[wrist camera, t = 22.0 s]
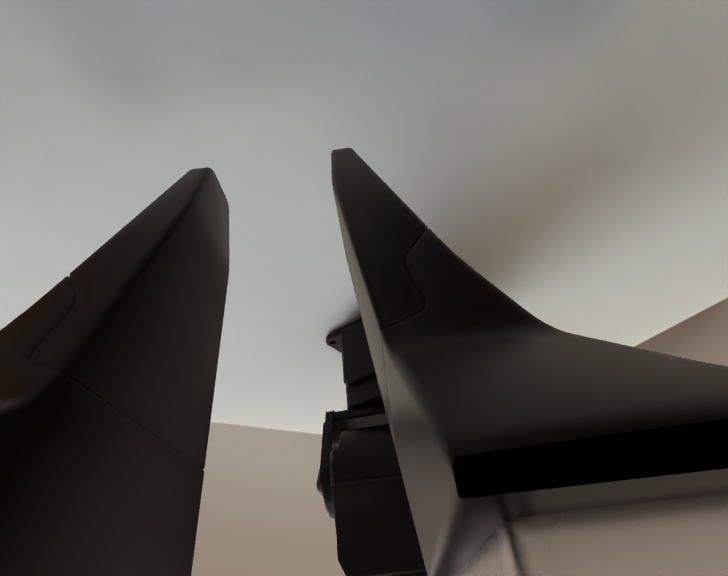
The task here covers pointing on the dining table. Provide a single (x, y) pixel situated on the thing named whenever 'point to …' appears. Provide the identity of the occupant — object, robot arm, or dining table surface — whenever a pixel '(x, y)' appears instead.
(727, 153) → the dining table surface
